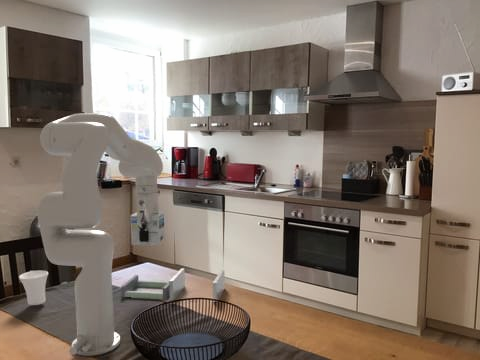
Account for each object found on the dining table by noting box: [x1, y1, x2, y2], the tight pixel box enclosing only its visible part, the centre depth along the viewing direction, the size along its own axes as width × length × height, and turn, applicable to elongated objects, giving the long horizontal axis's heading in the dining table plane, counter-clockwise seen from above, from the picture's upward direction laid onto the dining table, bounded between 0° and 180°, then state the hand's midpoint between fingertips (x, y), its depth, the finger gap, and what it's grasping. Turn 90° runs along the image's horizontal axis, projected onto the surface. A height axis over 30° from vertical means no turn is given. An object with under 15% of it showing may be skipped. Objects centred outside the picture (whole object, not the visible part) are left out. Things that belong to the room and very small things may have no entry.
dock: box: [120, 274, 170, 300], centre depth 156 cm, size 12×16×4 cm
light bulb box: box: [129, 212, 166, 246], centre depth 153 cm, size 11×7×11 cm, turn 84°
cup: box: [18, 270, 49, 306], centre depth 144 cm, size 9×9×10 cm
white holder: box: [168, 268, 226, 302], centre depth 153 cm, size 14×16×7 cm
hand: (148, 238), depth 154 cm, fingers closed on light bulb box, 7 cm apart
